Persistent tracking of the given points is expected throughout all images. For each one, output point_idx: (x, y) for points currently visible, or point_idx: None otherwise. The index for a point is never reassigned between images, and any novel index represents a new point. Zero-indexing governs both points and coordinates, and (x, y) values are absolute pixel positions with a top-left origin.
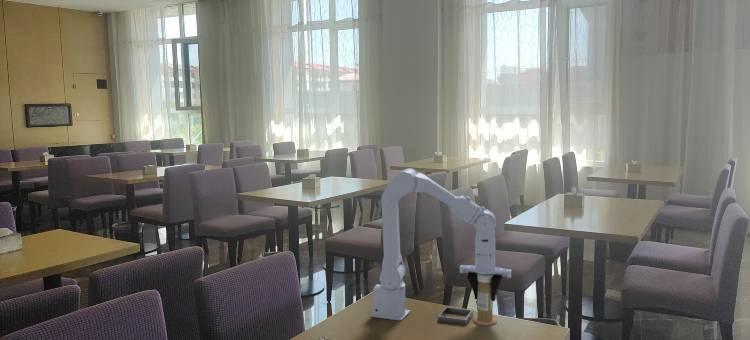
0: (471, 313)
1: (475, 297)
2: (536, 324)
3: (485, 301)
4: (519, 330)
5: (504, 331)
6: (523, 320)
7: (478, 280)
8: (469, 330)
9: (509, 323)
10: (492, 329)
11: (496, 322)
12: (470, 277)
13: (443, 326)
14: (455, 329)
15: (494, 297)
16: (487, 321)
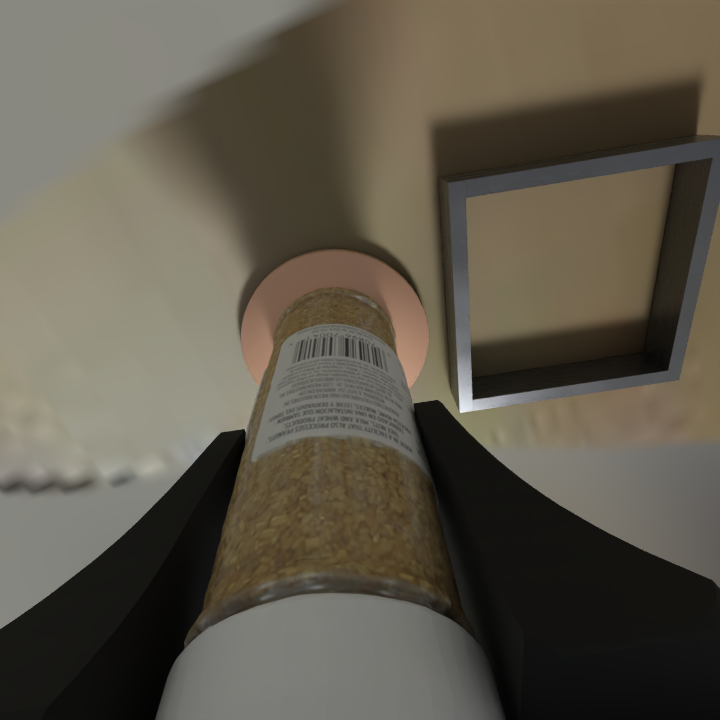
0: (455, 364)
1: (435, 406)
2: (12, 439)
3: (292, 376)
4: (27, 290)
5: (104, 211)
6: (119, 458)
7: (434, 626)
8: (369, 67)
9: (164, 375)
10: (207, 202)
11: (242, 338)
12: (677, 639)
13: (626, 34)
14: (498, 17)
15: (197, 460)
16: None
